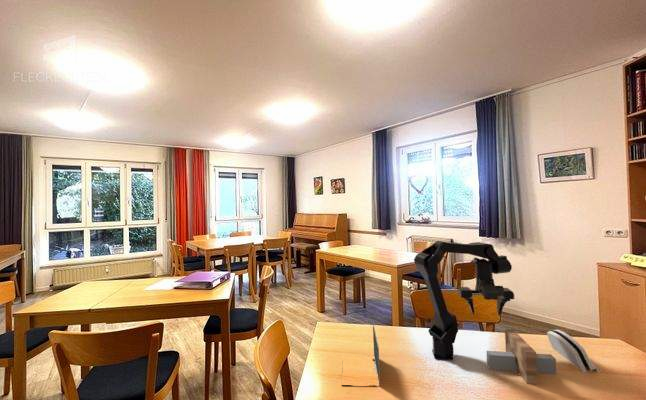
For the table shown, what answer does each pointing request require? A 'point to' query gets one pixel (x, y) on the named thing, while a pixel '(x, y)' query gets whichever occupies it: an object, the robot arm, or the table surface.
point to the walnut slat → (522, 356)
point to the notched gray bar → (508, 363)
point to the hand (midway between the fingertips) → (485, 314)
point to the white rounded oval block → (570, 350)
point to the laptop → (376, 354)
